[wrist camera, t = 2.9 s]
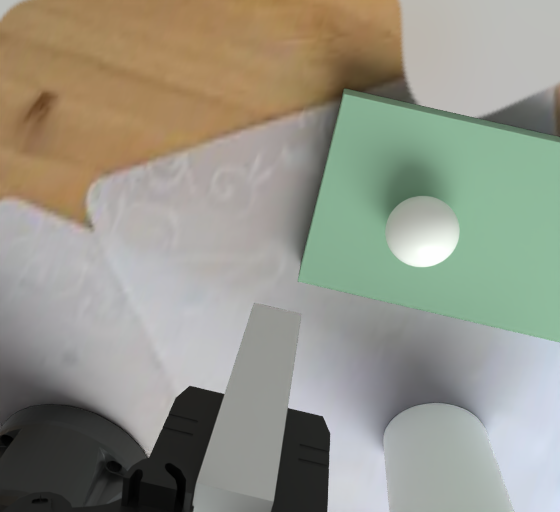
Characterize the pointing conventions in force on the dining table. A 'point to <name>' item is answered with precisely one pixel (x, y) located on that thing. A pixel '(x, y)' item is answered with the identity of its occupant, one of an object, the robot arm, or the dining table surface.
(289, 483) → the robot arm
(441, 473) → the cup
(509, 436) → the dining table surface
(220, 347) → the dining table surface
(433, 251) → the ball
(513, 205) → the green
